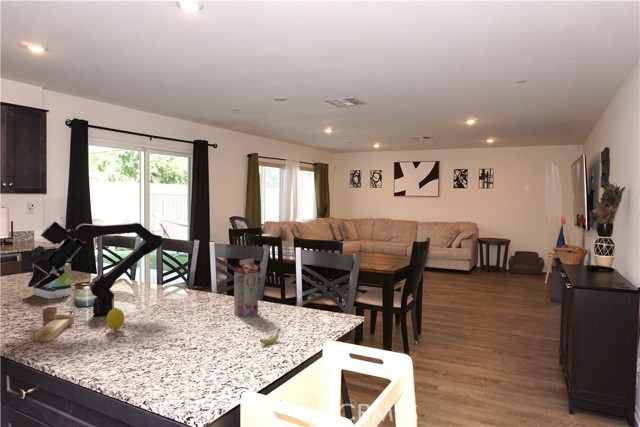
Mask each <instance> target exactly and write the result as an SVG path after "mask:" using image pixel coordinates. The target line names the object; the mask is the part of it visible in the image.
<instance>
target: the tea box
mask: <svg viewBox="0 0 640 427" xmlns="http://www.w3.org/2000/svg"><path fill="white" fill-rule="evenodd" d="M33 265H35V264H33V263H32V275H33V274H34V272H35V269H34V267H33ZM63 268H64V269H66V271H67V273H66V274H65V275H64V277H61V276H60V275H59V276H60V277H61V278H59V279H57V280H55V281H53V282H51V283H49V284H47V285H45V286H43V287H42V288H37V286H38V284H39V283H40V282H39V283H37V284H36V285H34V286H32V295H33V296H38V297H40V298H45V299H48V300H52V299H58V298H63V296H64V297H68V295H69V296H72V264H71V263H70V262H69V263H68V262H67V264H66V265H65V266H64V267H63Z"/></svg>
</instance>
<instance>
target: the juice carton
mask: <svg viewBox="0 0 640 427" xmlns="http://www.w3.org/2000/svg"><path fill="white" fill-rule="evenodd" d="M254 261H255V260H254V258H246V259H239V263H238V264H237V265H236V266H234V272H233V273H234V282H233V283H234V285H233V286H234V289H233V290H234V291H233V292H234V293H233V295H234V296H233V300H234V301H233V315H236V316H239V317H242V318H248V317H253V316H256V315H259V266H257V264H256V263H255V262H254Z"/></svg>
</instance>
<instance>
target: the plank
mask: <svg viewBox="0 0 640 427" xmlns="http://www.w3.org/2000/svg"><path fill="white" fill-rule="evenodd" d="M74 322H75V316H74V317H73V318H55V319H54V320H52V321H51V322H50V323H48V324H47V325H46V326H44V327H43V326H42V328H40V329H38V331H36V332H35V334H34V341H35V342H44V341H54V340H55V339H56V338H57V337H58V336H60V334H62V333H63V332H64V331H65V330H66V329H68V326H69V325H70V326H71V325H72V324H74ZM70 326H69V327H70Z"/></svg>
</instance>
